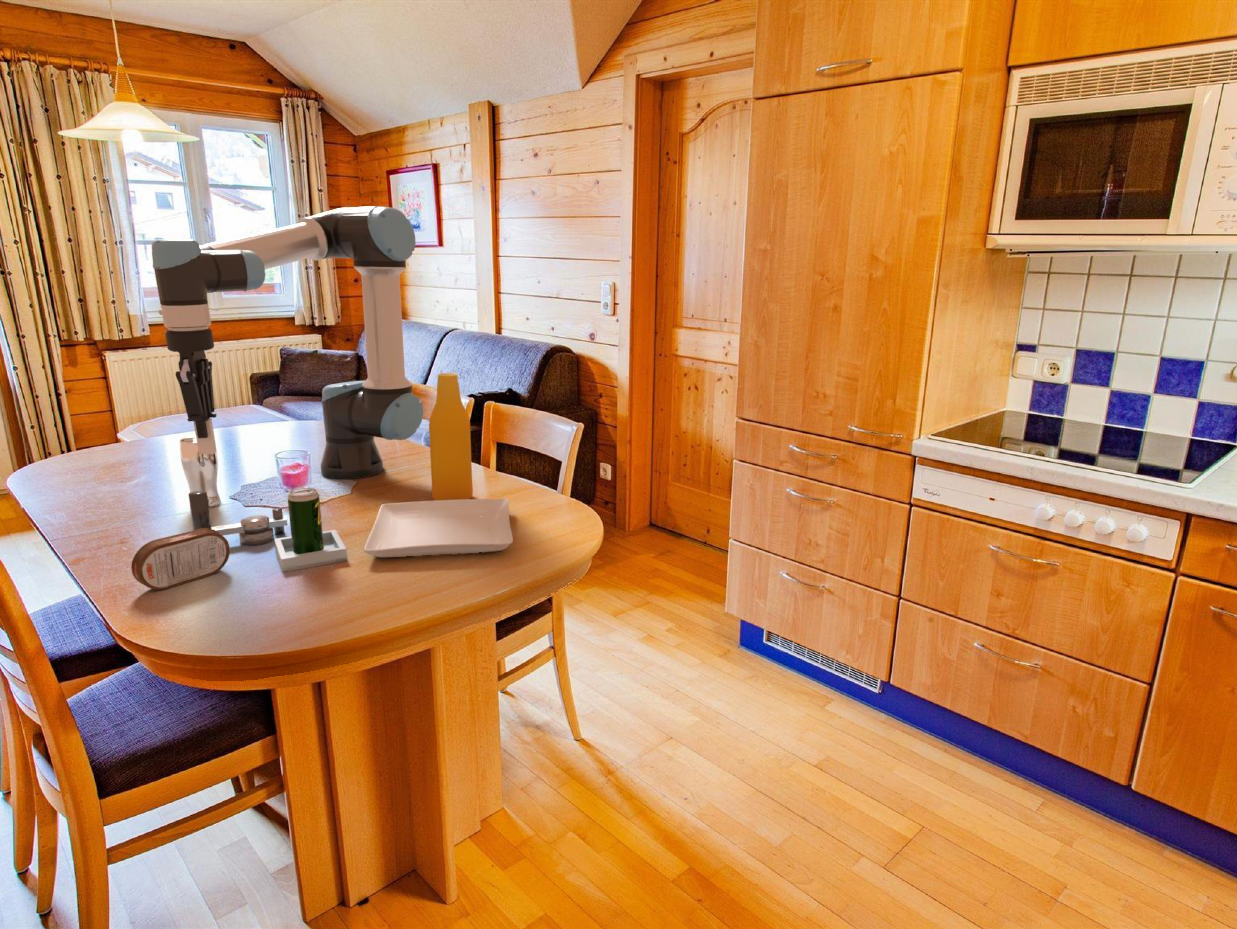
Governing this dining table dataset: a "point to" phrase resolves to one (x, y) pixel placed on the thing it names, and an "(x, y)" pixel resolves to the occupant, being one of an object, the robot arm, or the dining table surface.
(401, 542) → the square plate
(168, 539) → the tin
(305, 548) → the beer can
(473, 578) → the dining table surface
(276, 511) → the base
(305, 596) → the dining table surface
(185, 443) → the beer glass
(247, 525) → the crank
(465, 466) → the beer bottle
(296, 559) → the tray
